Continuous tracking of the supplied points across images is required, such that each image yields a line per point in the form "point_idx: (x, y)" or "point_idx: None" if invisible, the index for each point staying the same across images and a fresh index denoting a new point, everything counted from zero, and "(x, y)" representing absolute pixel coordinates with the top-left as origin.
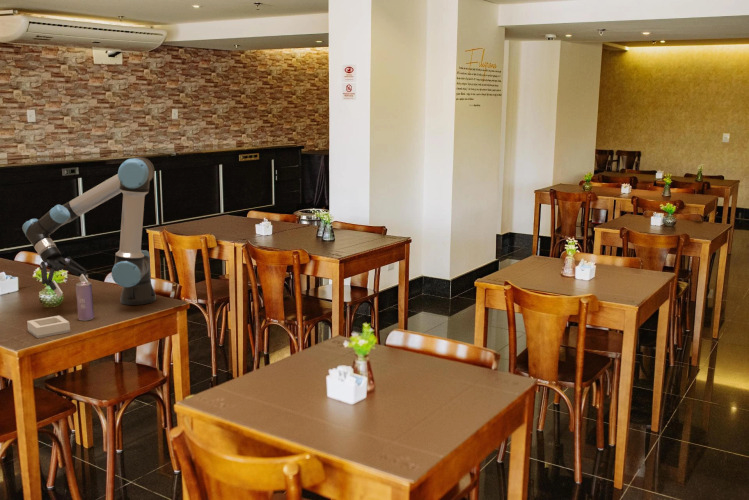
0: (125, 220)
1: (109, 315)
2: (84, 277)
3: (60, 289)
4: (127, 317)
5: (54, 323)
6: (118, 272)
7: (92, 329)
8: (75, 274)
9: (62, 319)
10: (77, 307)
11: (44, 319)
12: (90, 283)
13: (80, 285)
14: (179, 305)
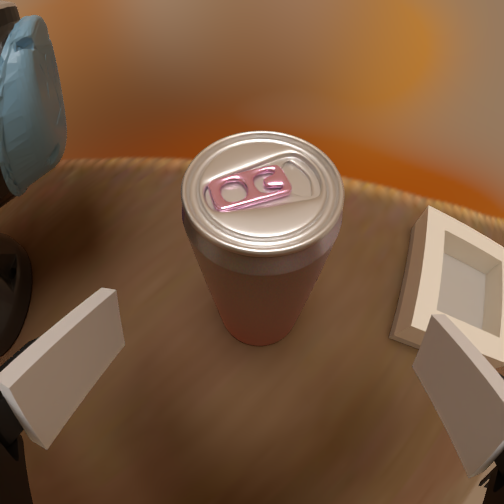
0: None
1: (167, 259)
2: (37, 349)
3: (452, 336)
4: (173, 184)
5: (468, 239)
6: (43, 80)
7: (348, 186)
8: (29, 495)
9: (432, 255)
10: (298, 314)
11: (472, 326)
12: (228, 136)
13: (332, 164)
14: None
